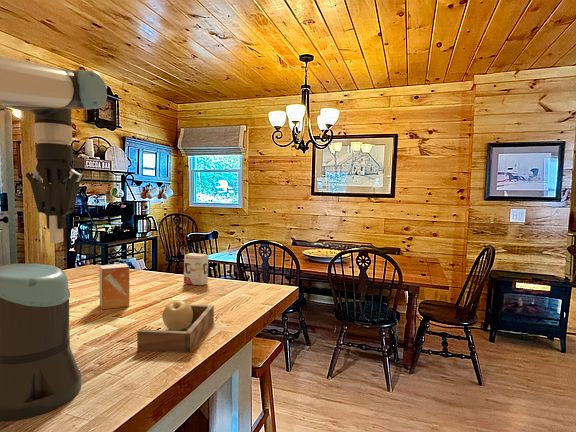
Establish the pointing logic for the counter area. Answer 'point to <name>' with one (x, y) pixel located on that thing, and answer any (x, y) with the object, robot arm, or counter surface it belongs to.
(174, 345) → the trough
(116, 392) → the counter surface
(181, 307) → the apple
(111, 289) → the small box
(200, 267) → the ink box
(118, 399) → the counter surface
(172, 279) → the counter surface
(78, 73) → the robot arm
